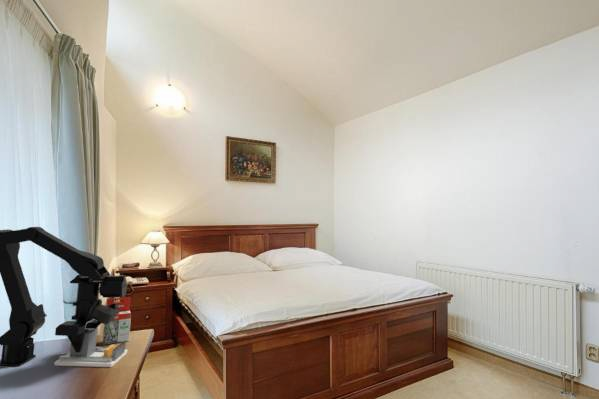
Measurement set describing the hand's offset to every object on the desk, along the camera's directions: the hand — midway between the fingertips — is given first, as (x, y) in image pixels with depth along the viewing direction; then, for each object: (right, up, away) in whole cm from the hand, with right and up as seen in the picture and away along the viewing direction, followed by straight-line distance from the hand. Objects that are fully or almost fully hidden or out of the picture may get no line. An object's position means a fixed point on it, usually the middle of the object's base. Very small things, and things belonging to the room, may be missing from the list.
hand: (83, 348), depth 99 cm
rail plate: (+3, -3, 0) cm, 4 cm away
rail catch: (+8, -2, 0) cm, 8 cm away
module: (0, -2, 0) cm, 2 cm away
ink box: (+2, -4, +14) cm, 15 cm away
